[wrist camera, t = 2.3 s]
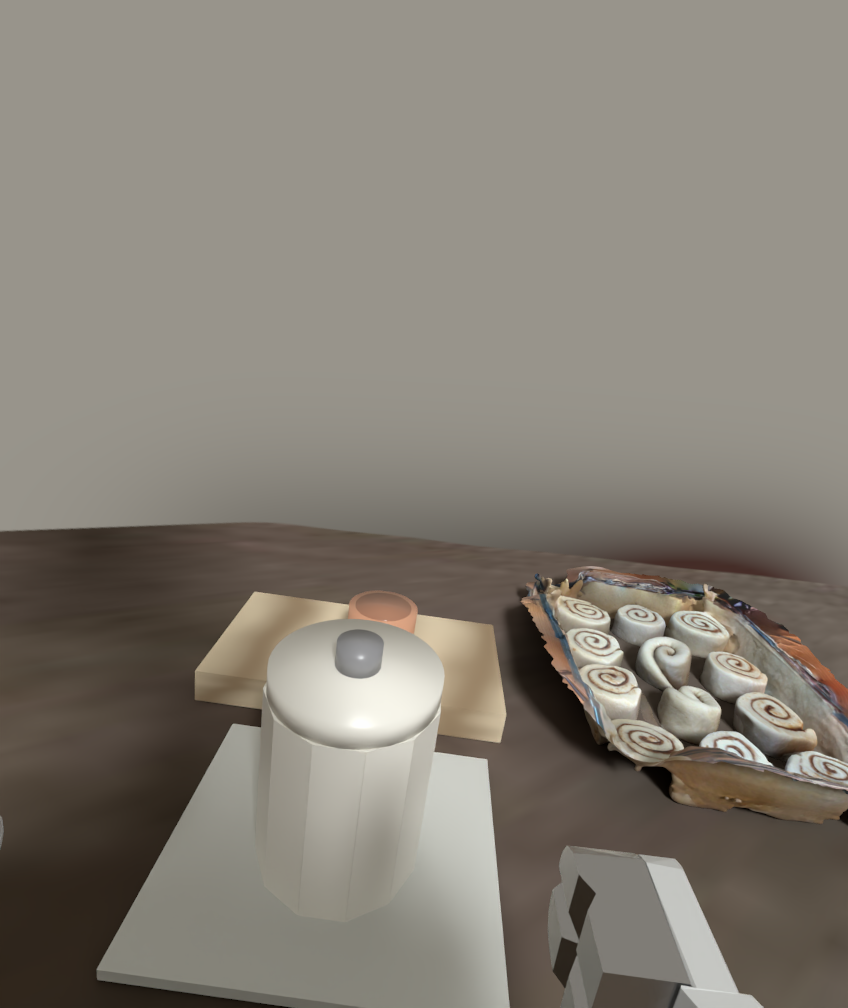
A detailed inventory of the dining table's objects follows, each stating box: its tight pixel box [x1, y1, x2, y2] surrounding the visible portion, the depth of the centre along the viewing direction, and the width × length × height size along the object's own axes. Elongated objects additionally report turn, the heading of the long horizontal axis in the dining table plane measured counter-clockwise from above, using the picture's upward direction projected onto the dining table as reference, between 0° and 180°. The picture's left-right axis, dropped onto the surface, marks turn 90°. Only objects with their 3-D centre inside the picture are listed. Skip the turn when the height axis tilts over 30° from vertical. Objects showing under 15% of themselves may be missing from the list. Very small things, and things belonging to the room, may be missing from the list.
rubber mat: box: [96, 724, 510, 1008], centre depth 24 cm, size 14×12×1 cm
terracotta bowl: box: [348, 591, 417, 634], centre depth 35 cm, size 4×4×3 cm
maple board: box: [195, 592, 506, 743], centre depth 36 cm, size 18×10×2 cm, turn 87°
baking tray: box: [521, 566, 848, 824], centre depth 39 cm, size 30×22×5 cm
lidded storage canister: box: [255, 619, 445, 922], centre depth 22 cm, size 7×7×10 cm
